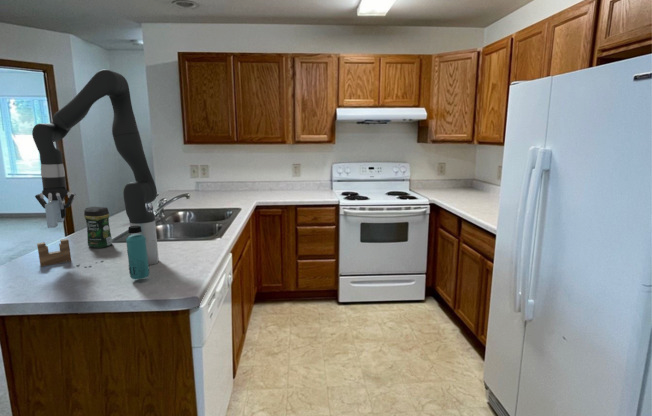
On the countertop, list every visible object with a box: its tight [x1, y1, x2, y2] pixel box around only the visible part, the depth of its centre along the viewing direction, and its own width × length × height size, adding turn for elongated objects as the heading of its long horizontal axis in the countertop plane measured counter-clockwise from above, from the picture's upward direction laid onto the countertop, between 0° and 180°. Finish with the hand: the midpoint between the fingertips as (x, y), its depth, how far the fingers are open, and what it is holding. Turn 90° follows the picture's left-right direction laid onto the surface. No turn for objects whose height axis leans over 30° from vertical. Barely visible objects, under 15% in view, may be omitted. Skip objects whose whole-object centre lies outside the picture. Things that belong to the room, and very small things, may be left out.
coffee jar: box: [83, 206, 113, 249], centre depth 172 cm, size 10×8×19 cm
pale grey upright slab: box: [44, 200, 65, 229], centre depth 147 cm, size 2×12×9 cm, turn 20°
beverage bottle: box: [125, 225, 150, 280], centre depth 132 cm, size 6×7×20 cm
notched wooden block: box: [36, 238, 72, 267], centre depth 150 cm, size 2×10×9 cm, turn 133°
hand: (58, 218), depth 150 cm, fingers closed on pale grey upright slab, 2 cm apart
